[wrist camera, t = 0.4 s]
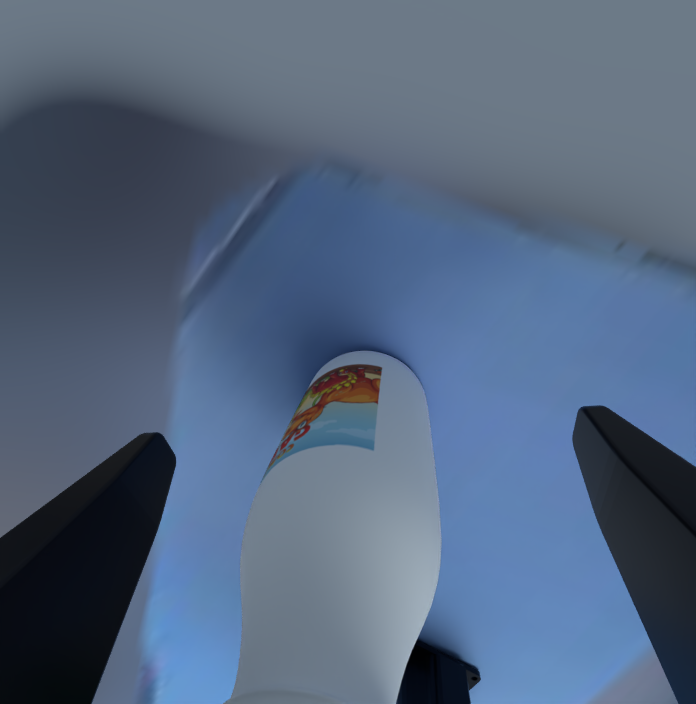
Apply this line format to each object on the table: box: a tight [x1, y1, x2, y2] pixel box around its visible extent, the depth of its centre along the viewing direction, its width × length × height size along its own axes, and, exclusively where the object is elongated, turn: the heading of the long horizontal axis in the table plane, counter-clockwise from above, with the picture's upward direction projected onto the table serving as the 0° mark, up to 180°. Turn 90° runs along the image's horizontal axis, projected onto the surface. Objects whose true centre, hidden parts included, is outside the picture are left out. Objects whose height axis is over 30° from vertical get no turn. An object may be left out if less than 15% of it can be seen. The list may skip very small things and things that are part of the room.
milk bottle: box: [223, 351, 441, 704], centre depth 17 cm, size 8×8×20 cm
